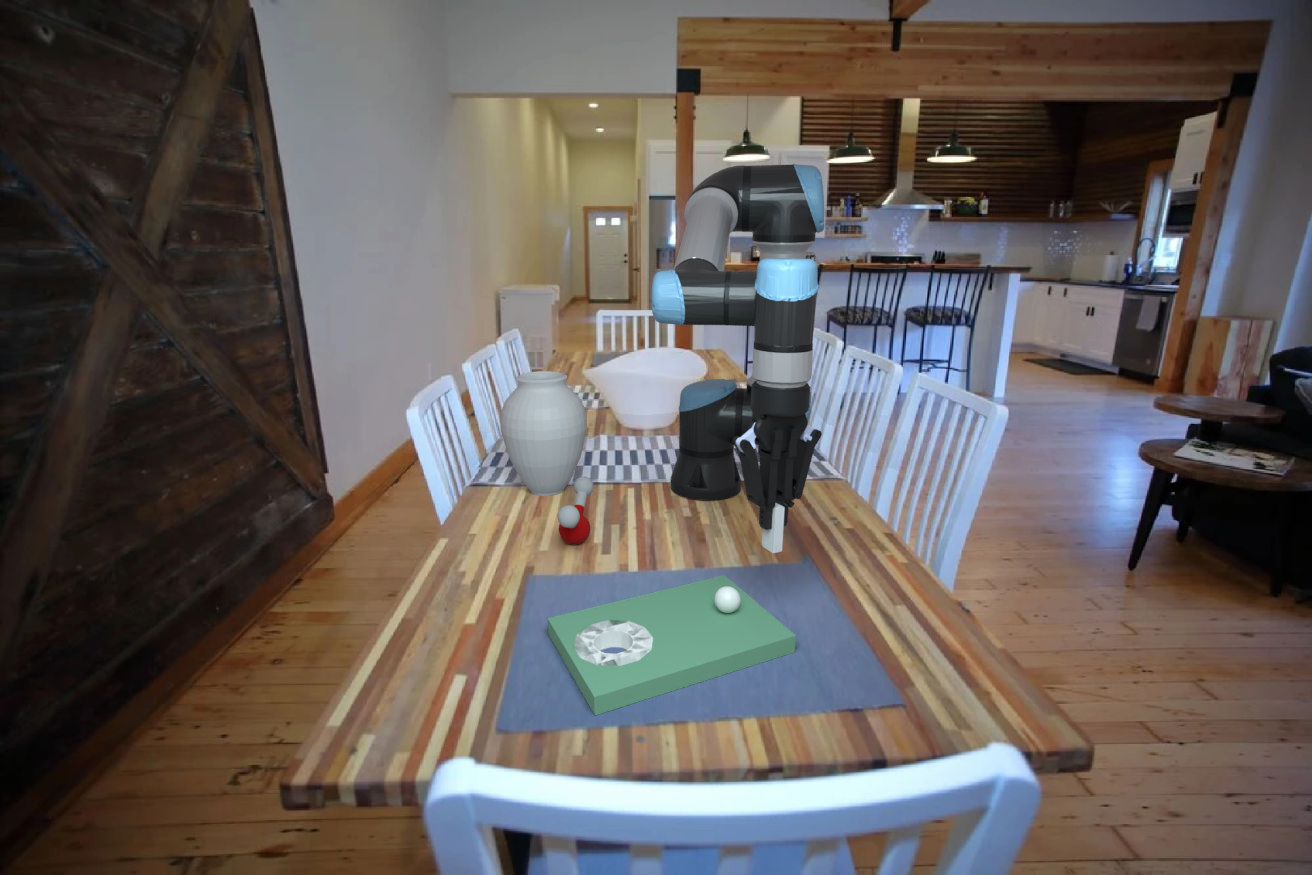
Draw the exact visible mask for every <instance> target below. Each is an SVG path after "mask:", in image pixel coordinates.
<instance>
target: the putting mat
mask: <svg viewBox="0 0 1312 875" xmlns="http://www.w3.org/2000/svg"><path fill="white" fill-rule="evenodd" d="M724 586H730V587H733V588H734V589H736V590H737V591H738V593H739V595H740V599H741V601H740V605H739V607H738V608H737V610H735V611H734V612H731V613H724V612H722V611H720V610H719V609H718V608H717V607H716V605H715V601H714V598H715V594H716V592H717V591H718V590H719V589H720V588H722V587H724ZM547 629H548V632H547V633H548V634H547V635H548V636H549V638H550V640H551V641H552V643H553V645H554V647H555V648H556V650H557V653H559V656H560V657H561V659H562V660H563V662H564V664H565V666H566V667H567V669H568V671H569V673H570V675H571V676H572V678H573V680H574V682H575V683H576V685H577V687H578V689H579V690H580V692H581V694H582V696H583V697H584V699H585V701H586V703H587V705H588V706H589V708H590V710H591V712H592V713H593V715H594V716H598V715H601V714H604V713H608V712H610V711H613V710H617V709H620V708H623V707H626V706H630V705H632V704H633V705H634V704H636V703H639V702H642V701H646V700H648V699H651V698H655V697H658V696H661V695H664V694H667V693H670V692H673V691H678V690H680V689H684V688H686V687H690V686H693V685H696V684H699V683H702V682H705V681H708V680H712V679H714V678H718V677H720V676H724V675H728V674H730V673H734V672H736V671H739V670H743V669H747V668H749V667H753V666H756V665H759V664H762V663H765V662H768V661H771V660H775V659H778V658H781V657H784V656H787V655H788V656H789V655H791V654H794V653H796V644H797V643H796V642H797V641H796V640H797V635H796V634H795V633H794V632H792V631H791V630H790V629H789V628H788V627H786V625H784V624H783V623H782V622H781V621H779V620H778V619H777V618H776V617H775V616H773V614H772V613H770V612H768V611H767V610H766V609H765V608H764V607H762V605H761V604H759V603H758V602H757V601H756V600H754V598H752V597H751V596H750V595H748V593H747V592H745V591H744V590H743V589H741V587H739V586H738V585H737V584H735V582H733V581H732V580H731V579H730V578H728V576H726V575H725V574H723V575H718V576H715V577H711V578H706V579H702V580H697V581H694V582H691V583H686V584H683V585H682V584H681V585H679V586H678V585H677V586H675V587H670V588H666V589H663V590H658V591H654V592H650V593H645V594H641V595H638V596H634V597H629V598H624V599H621V600H617V601H613V602H610V603H604V604H601V605H597V606H591V607H588V608H585V609H580V610H576V611H573V612H567V613H564V614H560V615H555V616H551V617H548V618H547ZM609 648H610V649H611V648H622V649H623V650H625V651H621V652H618V653H611V652H610V653H609V652H607V653H606V652H603V651H604V650H605V649H609Z"/></svg>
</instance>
